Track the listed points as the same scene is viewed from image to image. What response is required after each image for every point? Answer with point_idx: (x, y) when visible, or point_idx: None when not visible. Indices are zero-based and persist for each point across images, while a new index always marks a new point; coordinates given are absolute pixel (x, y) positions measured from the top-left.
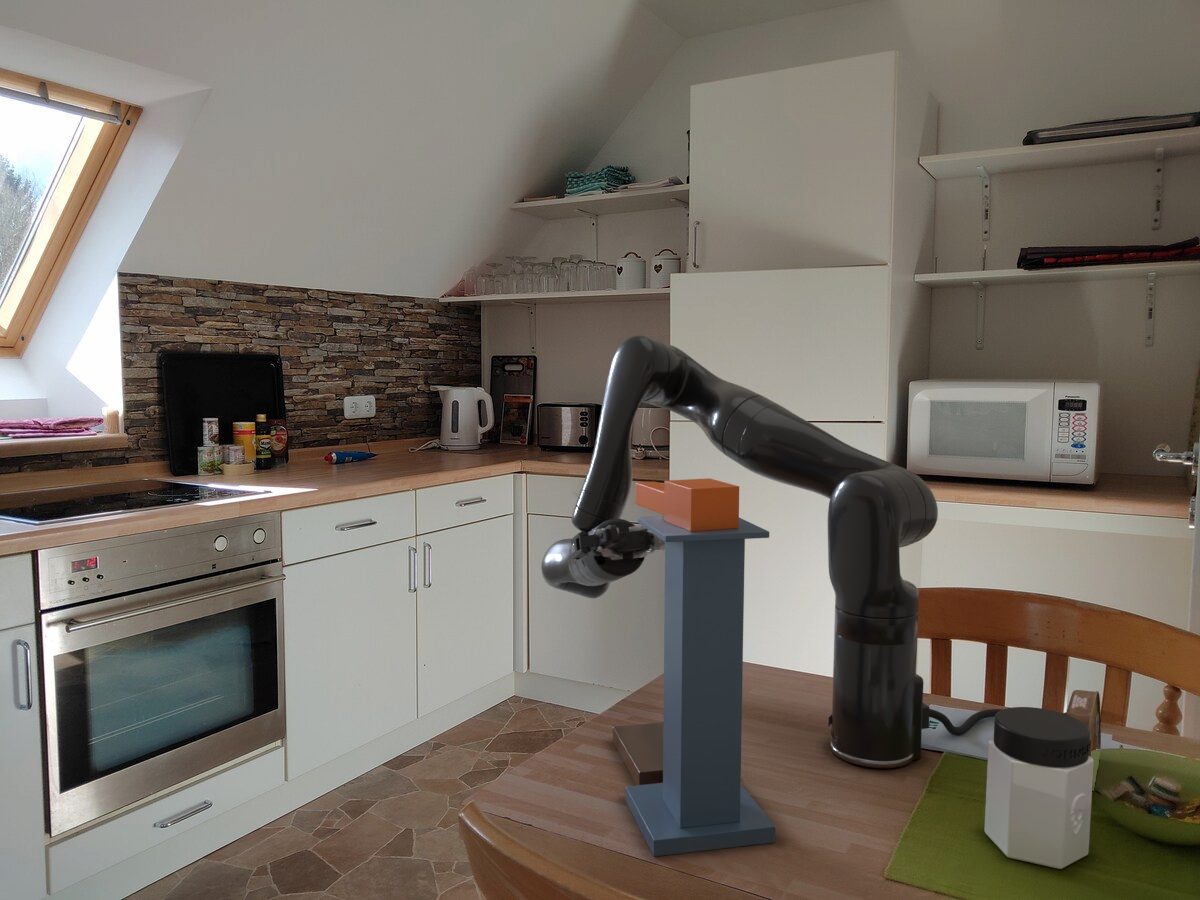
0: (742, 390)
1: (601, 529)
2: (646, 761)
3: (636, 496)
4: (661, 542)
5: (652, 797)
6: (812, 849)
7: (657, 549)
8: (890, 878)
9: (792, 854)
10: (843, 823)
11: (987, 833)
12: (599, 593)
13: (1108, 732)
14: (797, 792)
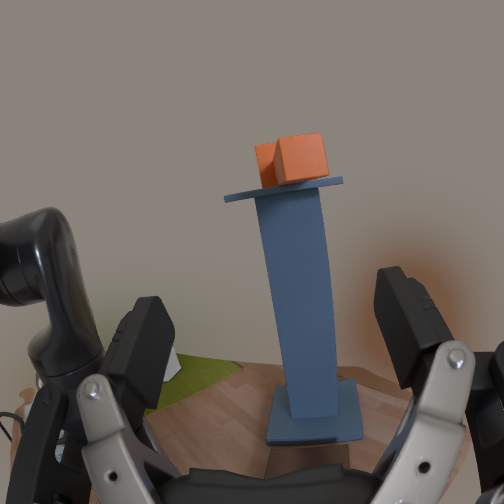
0: None
1: (443, 344)
2: (336, 461)
3: (325, 159)
4: (159, 449)
5: (345, 417)
6: (260, 387)
7: (179, 473)
8: (241, 367)
9: (274, 385)
10: (224, 402)
11: (170, 377)
12: None
13: (23, 406)
14: (223, 434)
